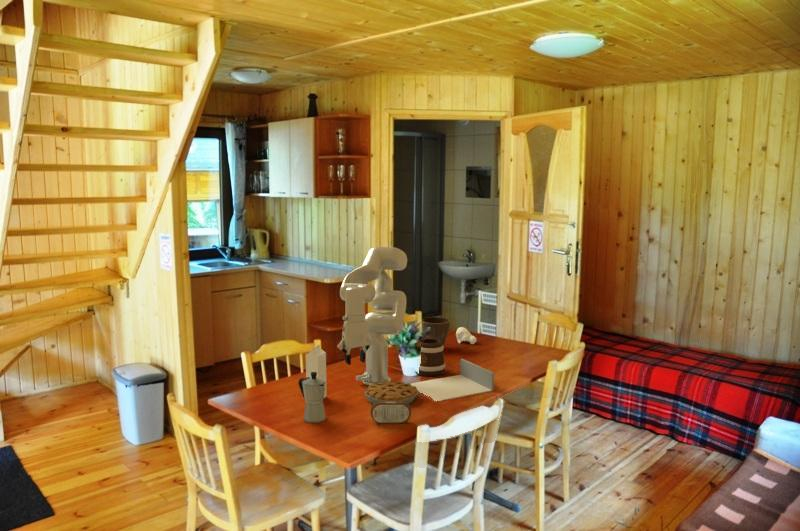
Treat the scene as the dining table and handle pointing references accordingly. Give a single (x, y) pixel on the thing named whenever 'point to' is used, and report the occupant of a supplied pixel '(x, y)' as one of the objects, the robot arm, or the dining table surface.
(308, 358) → the milk
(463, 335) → the cream rounded lump
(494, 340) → the dining table surface
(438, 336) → the plant pot
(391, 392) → the pie
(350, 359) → the robot arm
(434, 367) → the mug
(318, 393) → the coffee maker
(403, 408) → the tin
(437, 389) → the grey l-shaped tray
